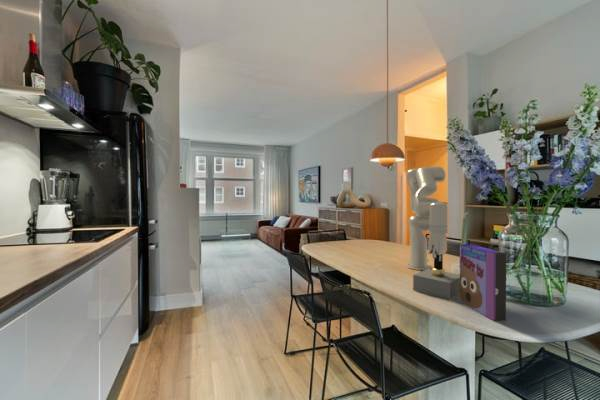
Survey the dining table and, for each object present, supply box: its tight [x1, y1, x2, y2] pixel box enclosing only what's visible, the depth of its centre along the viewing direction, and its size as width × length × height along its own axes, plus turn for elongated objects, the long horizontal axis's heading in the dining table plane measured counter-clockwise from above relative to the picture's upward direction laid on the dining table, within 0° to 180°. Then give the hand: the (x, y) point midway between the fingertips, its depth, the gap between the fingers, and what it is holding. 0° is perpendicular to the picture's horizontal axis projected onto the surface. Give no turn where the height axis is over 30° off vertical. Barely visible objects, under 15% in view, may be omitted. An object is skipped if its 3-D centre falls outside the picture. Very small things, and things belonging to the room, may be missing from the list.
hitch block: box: [412, 268, 460, 300], centre depth 127 cm, size 16×16×7 cm
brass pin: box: [431, 266, 446, 277], centre depth 127 cm, size 5×5×9 cm
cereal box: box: [459, 243, 507, 322], centre depth 105 cm, size 17×5×24 cm, turn 5°
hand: (438, 268), depth 127 cm, fingers closed
